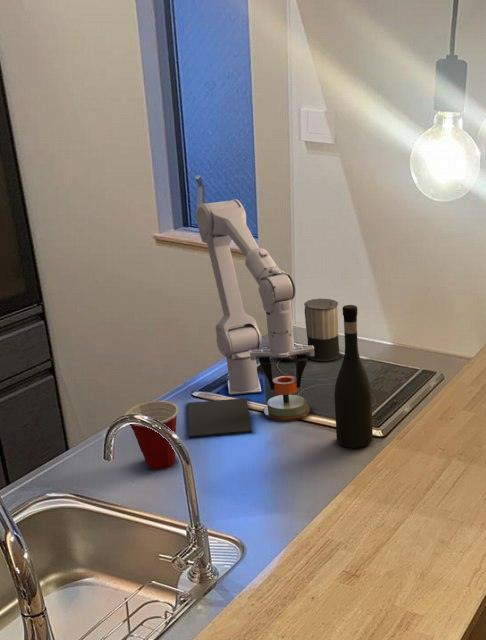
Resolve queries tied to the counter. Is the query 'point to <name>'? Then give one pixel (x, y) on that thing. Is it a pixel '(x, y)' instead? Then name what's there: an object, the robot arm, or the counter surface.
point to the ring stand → (286, 408)
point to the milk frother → (321, 329)
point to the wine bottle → (352, 390)
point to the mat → (218, 418)
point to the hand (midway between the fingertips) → (285, 387)
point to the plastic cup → (155, 433)
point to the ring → (285, 385)
